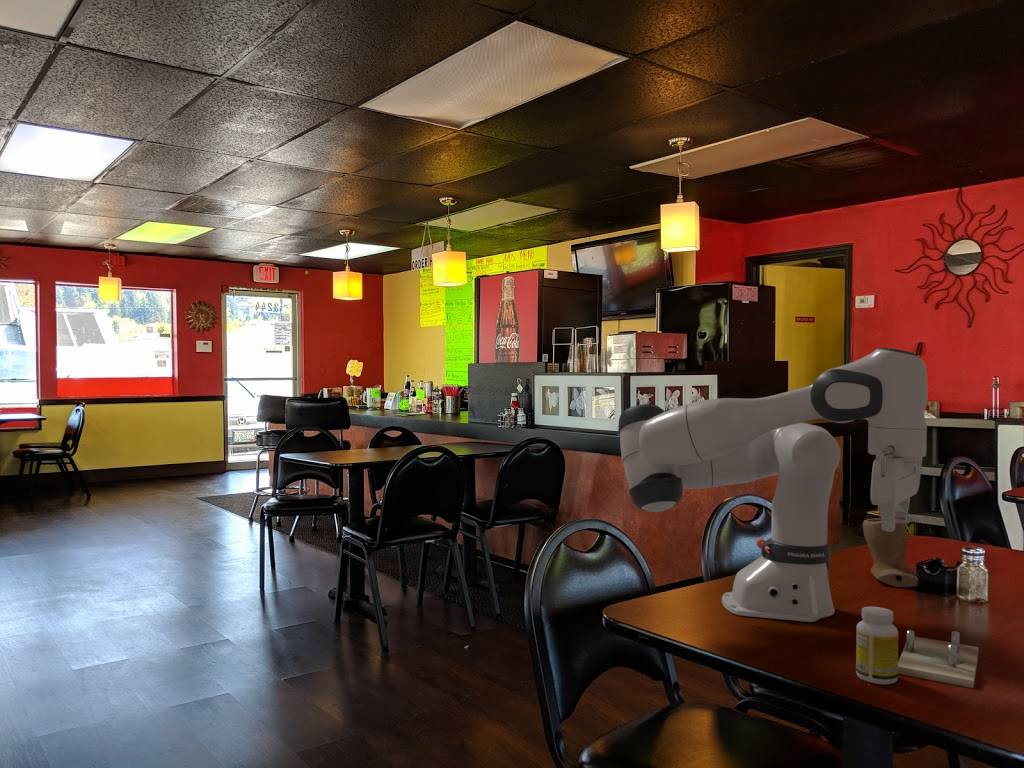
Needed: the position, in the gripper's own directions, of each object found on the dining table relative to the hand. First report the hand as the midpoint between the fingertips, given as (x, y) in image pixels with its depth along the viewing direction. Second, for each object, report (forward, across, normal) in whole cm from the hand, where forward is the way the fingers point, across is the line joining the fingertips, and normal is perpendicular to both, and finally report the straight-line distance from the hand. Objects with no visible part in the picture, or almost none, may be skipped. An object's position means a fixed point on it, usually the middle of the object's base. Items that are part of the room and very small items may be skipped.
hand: (894, 526), depth 132 cm
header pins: (+22, +7, -5) cm, 24 cm away
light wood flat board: (+24, +7, -6) cm, 25 cm away
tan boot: (+24, +60, +12) cm, 65 cm away
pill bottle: (+24, -7, +1) cm, 25 cm away
